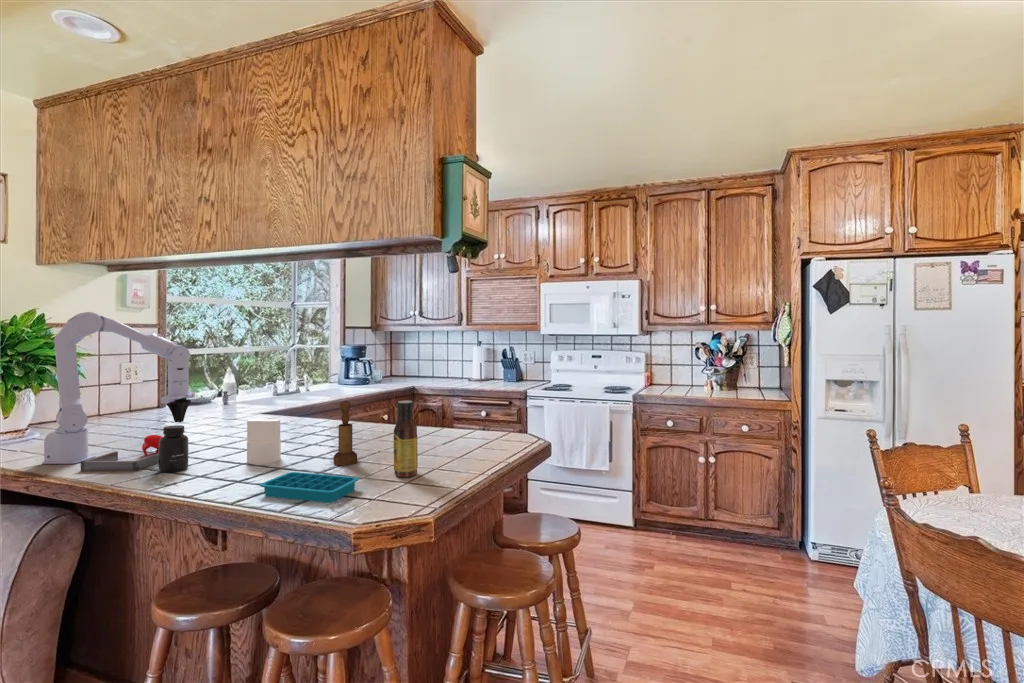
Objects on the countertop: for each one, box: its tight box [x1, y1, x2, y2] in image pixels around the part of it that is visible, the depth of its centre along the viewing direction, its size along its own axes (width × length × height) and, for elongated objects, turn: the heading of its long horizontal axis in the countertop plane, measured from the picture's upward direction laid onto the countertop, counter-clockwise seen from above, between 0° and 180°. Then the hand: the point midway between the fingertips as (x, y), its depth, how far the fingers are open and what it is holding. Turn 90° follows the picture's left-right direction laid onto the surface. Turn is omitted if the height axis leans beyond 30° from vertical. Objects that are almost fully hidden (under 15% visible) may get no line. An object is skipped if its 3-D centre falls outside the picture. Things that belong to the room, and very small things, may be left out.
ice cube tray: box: [259, 471, 360, 503], centre depth 119 cm, size 12×20×3 cm, turn 75°
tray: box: [80, 450, 159, 472], centre depth 143 cm, size 15×12×2 cm
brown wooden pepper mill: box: [333, 400, 358, 466], centre depth 146 cm, size 7×6×18 cm
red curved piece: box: [141, 434, 163, 457], centre depth 156 cm, size 8×6×6 cm
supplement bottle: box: [158, 424, 189, 474], centre depth 138 cm, size 7×7×12 cm
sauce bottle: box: [393, 400, 419, 478], centre depth 133 cm, size 6×6×20 cm
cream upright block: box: [246, 418, 282, 465], centre depth 148 cm, size 9×9×12 cm
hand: (179, 422), depth 167 cm, fingers closed
